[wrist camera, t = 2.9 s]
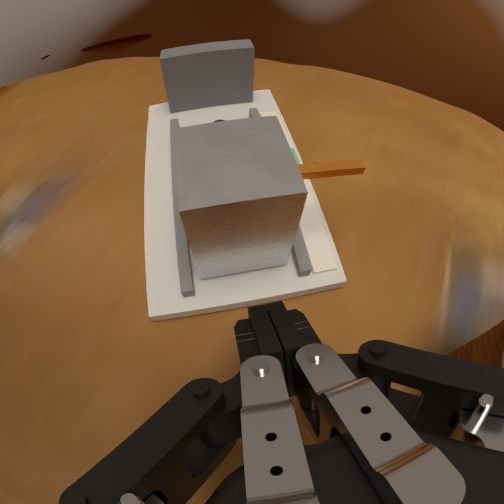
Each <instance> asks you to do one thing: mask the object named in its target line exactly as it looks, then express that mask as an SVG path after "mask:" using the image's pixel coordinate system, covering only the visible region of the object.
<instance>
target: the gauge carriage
mask: <svg viewBox="0 0 504 504" xmlns="http://www.w3.org/2000/svg"><path fill="white" fill-rule="evenodd" d="M174 134H175V158H176V177H177V193H178V207H179V214H180V217H181V220H182V223H183V226H184V229H185V232H186V235H187V238H188V241H189V244H190V247H191V250H192V253H193V256H194V259H195V262H196V265H197V268H198V271H199V274H200V277H201V279H205V278H211V277H217V276H223V275H229V274H234V273H240V272H246V271H252V270H257V269H263V268H269V267H274V266H280V265H285V264H288V260H289V257H290V254H291V250H292V247H293V243H294V240H295V237H296V233H297V230H298V226H299V223H300V219H301V216H302V212H303V209H304V205H305V202H306V198H307V194H308V191H307V188H306V186H305V183H304V179H313V178H323V177H333V176H344V175H356V174H363V173H364V170H365V168H366V167H365V165H364V164H363V162H362V160H345V161H331V162H319V163H307V164H297V163H296V160H295V158H294V155H293V153H292V151H291V148H290V146H289V143H288V141H287V139H286V136H285V134H284V132H283V129H282V127H281V125H280V122H279V120H278V118H277V116H265V117H254V118H244V119H235V120H227V121H225V120H221V119H220V120H216V121H214V122H212V123H205V124H199V125H193V126H187V127H181V128H175V129H174Z"/></svg>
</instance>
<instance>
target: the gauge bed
mask: <svg viewBox="0 0 504 504" xmlns="http://www.w3.org/2000/svg"><path fill="white" fill-rule="evenodd" d="M160 61H161V67H162V72H163V78H164V83H165V88H166V93H167V98H168V102H167V103H161V104H157V105H152V106H149V115H148V127H147V142H146V160H145V189H144V237H145V267H146V285H147V300H148V312H149V317H150V318H151V319H152V320H153V321H159V320H166V319H173V318H180V317H186V316H193V315H199V314H205V313H211V312H217V311H223V310H229V309H235V308H240V307H246V306H251V305H257V304H262V303H267V302H273V301H278V300H283V299H288V298H293V297H298V296H302V295H307V294H312V293H317V292H321V291H326V290H331V289H335V288H340V287H342V286H343V285H344V284H345V283H346V281H347V280H346V277H345V274H344V271H343V268H342V265H341V262H340V259H339V256H338V253H337V250H336V248H335V245H334V242H333V239H332V236H331V234H330V231H329V228H328V225H327V223H326V220H325V217H324V215H323V212H322V210H321V207H320V204H319V202H318V199H317V197H316V194H315V192H314V189H313V187H312V184H311V182H310V179H304V183H305V186H306V188H307V191H308V194H307V198H306V202H305V205H304V209H303V212H302V216H301V219H300V223H299V226H298V230H297V233H296V237H295V240H294V243H293V247H292V250H291V254H290V257H289V260H288V264H285V265H280V266H274V267H269V268H263V269H257V270H252V271H246V272H240V273H234V274H229V275H223V276H217V277H211V278H205V279H201V277H200V274H199V271H198V268H197V265H196V262H195V259H194V256H193V253H192V250H191V247H190V244H189V241H188V238H187V235H186V232H185V229H184V226H183V223H182V220H181V217H180V214H179V207H178V193H177V177H176V158H175V134H174V129H175V128H181V127H187V126H193V125H199V124H205V123H212V122H214V121H216V120H220V119H221V120H225V121H227V120H235V119H244V118H254V117H265V116H277V118H278V120H279V122H280V125H281V127H282V129H283V132H284V134H285V136H286V139H287V141H288V143H289V146H290V148H291V151H292V153H293V155H294V158H295V160H296V163H297V164H303V162H302V160H301V157H300V155H299V153H298V150H297V148H296V146H295V144H294V141H293V139H292V137H291V135H290V132H289V130H288V128H287V126H286V123H285V121H284V119H283V117H282V115H281V113H280V110H279V108H278V106H277V104H276V102H275V100H274V98H273V96H272V94H271V92H270V90H255V91H253V77H254V46H253V45H252V43H251V41H250V40H249V39H248V40H232V41H221V42H212V43H203V44H196V45H189V46H182V47H176V48H171V49H165V50H161V56H160Z"/></svg>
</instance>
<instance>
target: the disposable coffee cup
mask: <svg viewBox="0 0 504 504" xmlns="http://www.w3.org/2000/svg"><path fill="white" fill-rule="evenodd" d="M447 356H448V357H452V358H456V359H461V360H465V361H470V362H475V363H479V364H484V365H489V366H494V367H499V368H504V320H503V321H501V322H500V323H499V324H497V325H496V326H494V327H492V328H491V329H490V330H489V331H487V332H485V333H484V334H482V335H480V336H479V337H477V338H476V339H474V340H473V341H471V342H469V343H467V344H466V345H464V346H462V347H461V348H459V349H457V350H455V351H454V352H452V353H450V354H448V355H447ZM423 396H424V395H423V393H422V397H423Z"/></svg>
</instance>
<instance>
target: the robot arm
mask: <svg viewBox="0 0 504 504" xmlns="http://www.w3.org/2000/svg"><path fill="white" fill-rule="evenodd" d="M248 315H249V319H243V320H238V321H237V323H236V325H235V327H234V330H235V335H236V340H237V346H238V351H239V356H240V361H241V367H240V371H239V373H238V374H237V375H236V376H235V377H234V378H232V379H230V380H228V381H226V382H224V383H221V384H220V383H219V382H218V381H216V380H214V379H211V378H199V379H195V380H193V381H191V382H189V383H187V384H186V385H185V386H184V387H183V388H182V389H181V390H180V391H179V392H177V393H176V394H175V395H174V396H173V397H172V398H171V399H170V400H169V401H168V402H167V403H166V404H165V405H163V406H162V407H161V408H160V409H159V410H158V411H157V412H156V413H155V414H154V415H153V416H151V417H150V418H149V419H148V420H147V421H146V422H145V423H144V424H143V425H141V426H140V427H139V428H138V429H137V430H136V431H135V432H134V433H132V434H131V435H130V436H129V437H128V438H127V439H126V440H124V441H123V442H122V443H121V444H120V445H119V446H117V447H116V448H115V449H114V450H113V451H112V452H111V453H109V454H108V455H107V456H106V457H105V458H103V459H102V460H101V461H100V462H99V463H97V464H96V465H95V466H94V467H93V468H91V469H90V470H89V471H88V472H87V473H85V474H84V475H83V476H82V477H80V478H79V479H78V480H77V481H76V482H74V483H73V484H72V485H71V486H69V487H68V488H67V489H66V490H65V491H64V492H63V493H62V495H61V496H60V499H59V504H186V503H187V501H188V500H189V499H190V498H191V497H192V496H193V495H194V494H195V493H196V491H197V490H198V489H199V488H200V487H201V486H202V485H203V483H204V482H205V481H206V480H207V479H208V478H209V476H210V475H211V474H212V473H213V472H214V470H215V469H216V468H217V467H218V466H219V464H220V463H221V462H222V461H223V459H224V458H225V457H226V456H227V454H228V453H229V452H230V451H231V449H232V448H233V447H234V445H235V444H236V441H237V439H238V438H240V437H242V443H243V457H244V465H243V466H241V467H240V468H238V469H236V470H235V471H233V472H232V473H231V474H230V475H228V476H227V477H226V478H225V479H224V480H223V481H222V482H221V484H220V485H219V486H218V487H217V489H216V490H215V491H214V493H213V494H212V495H211V497H210V498H209V499H208V500H207V502H206V503H205V504H504V368H499V367H494V366H489V365H484V364H479V363H475V362H470V361H465V360H461V359H456V358H452V357H448V356H443V355H439V354H435V353H431V352H427V351H423V350H419V349H415V348H411V347H407V346H403V345H399V344H395V343H391V342H387V341H383V340H372V341H368V342H366V343H364V344H362V345H361V346H360V348H359V350H358V353H356V354H337V353H336V352H335V351H334V350H333V349H332V348H331V347H330V346H328V345H325V344H322V343H321V341H320V339H319V338H318V336H317V335H316V333H315V331H314V330H313V328H312V327H311V325H310V323H309V322H308V320H307V318H306V317H305V315H304V314H303V313H301V312H300V311H298V310H296V309H294V310H289V311H287V310H286V308H285V306H284V304H283V302H282V301H278V302H273V303H267V304H265V305H264V304H263V305H257V306H252V307H248ZM391 382H394V383H398V384H401V385H404V386H408V387H411V388H415V389H418V390H420V391H421V392H422V393H423V395H424V396H423V397H419V396H416V395H412V394H409V393H405V392H402V391H399V390H395V389H392V388H390V385H391ZM288 395H289V396H288ZM295 395H296V396H297V398H298V403H299V411H300V413H301V415H302V417H303V419H304V421H305V423H306V425H307V427H308V429H309V431H310V433H311V435H312V437H313V438H314V440H315V442H316V444H311V445H303V443H302V439H301V435H300V431H299V427H298V423H297V419H296V415H295V411H294V407H293V404H292V401H290V400H289V397H291V396H295Z"/></svg>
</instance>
